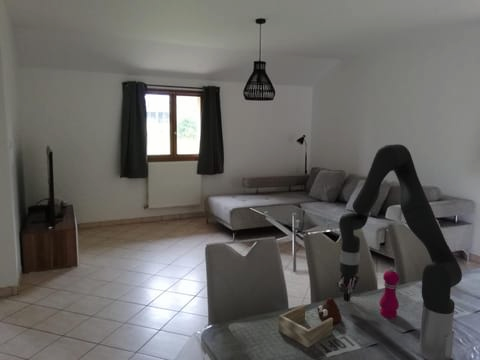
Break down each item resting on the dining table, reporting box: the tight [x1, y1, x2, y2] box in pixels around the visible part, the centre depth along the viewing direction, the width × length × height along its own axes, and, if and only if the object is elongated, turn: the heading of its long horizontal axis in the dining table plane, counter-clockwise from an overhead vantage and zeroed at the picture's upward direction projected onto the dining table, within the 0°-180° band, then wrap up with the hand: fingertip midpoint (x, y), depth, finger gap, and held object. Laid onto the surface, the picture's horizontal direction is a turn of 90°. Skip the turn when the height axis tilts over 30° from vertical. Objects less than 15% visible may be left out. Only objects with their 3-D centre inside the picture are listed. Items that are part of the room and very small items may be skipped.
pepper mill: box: [379, 267, 400, 319], centre depth 158 cm, size 7×7×20 cm
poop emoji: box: [317, 297, 342, 326], centre depth 155 cm, size 10×9×9 cm
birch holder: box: [278, 304, 334, 348], centre depth 145 cm, size 14×14×6 cm
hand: (346, 300), depth 163 cm, fingers closed
